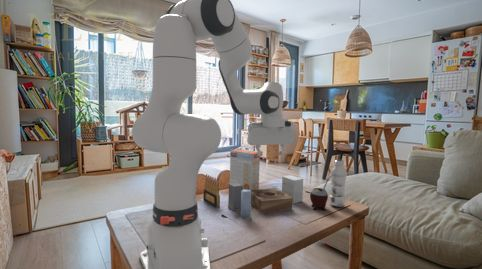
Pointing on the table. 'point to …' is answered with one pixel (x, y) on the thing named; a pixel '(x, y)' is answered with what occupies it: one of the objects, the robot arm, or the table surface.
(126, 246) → the table surface
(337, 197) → the plastic bottle
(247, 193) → the blue-gray rectangular block
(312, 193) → the mate gourd
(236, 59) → the robot arm
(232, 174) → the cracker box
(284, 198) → the socket block
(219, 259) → the table surface
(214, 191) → the ammunition clip
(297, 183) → the small box
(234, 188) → the square peg
